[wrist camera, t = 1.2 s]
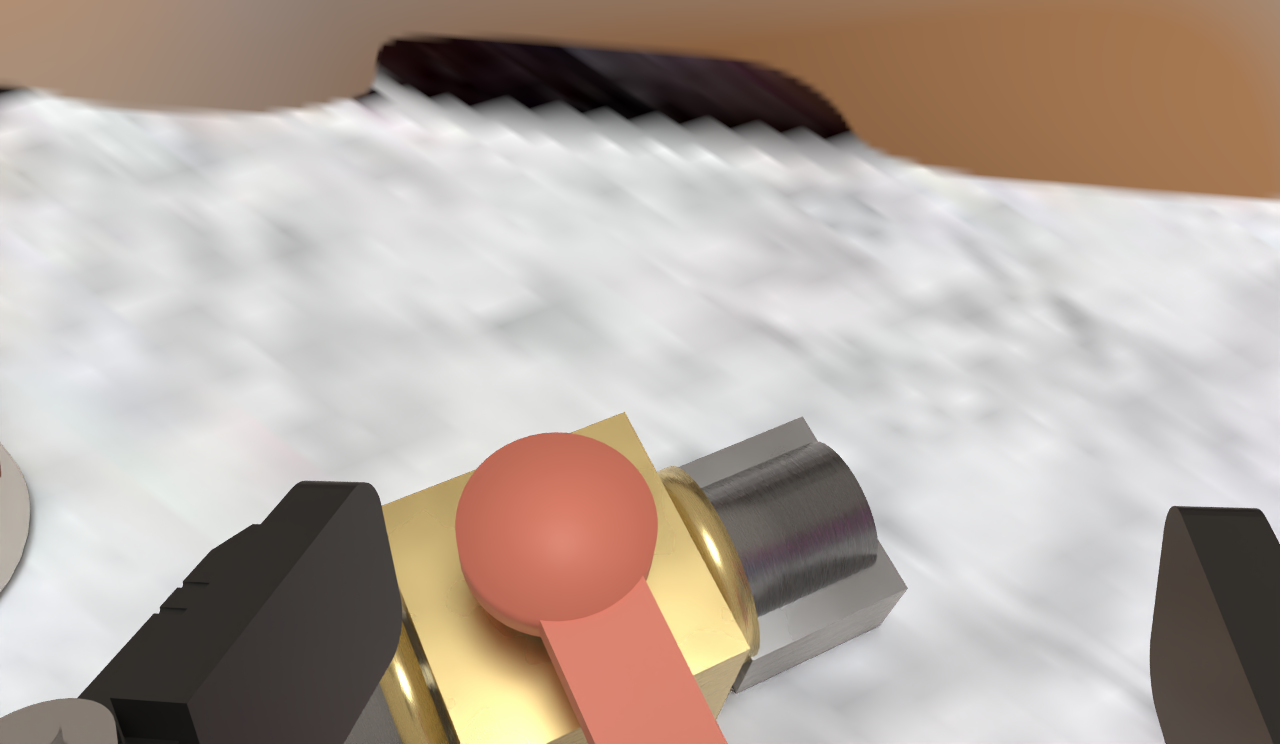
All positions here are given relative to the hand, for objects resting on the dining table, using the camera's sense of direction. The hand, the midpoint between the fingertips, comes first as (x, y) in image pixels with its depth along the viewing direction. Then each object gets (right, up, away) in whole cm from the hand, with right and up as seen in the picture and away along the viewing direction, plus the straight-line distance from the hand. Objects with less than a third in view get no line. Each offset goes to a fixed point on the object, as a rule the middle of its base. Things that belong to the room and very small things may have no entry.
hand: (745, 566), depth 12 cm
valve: (-4, -7, +22) cm, 24 cm away
